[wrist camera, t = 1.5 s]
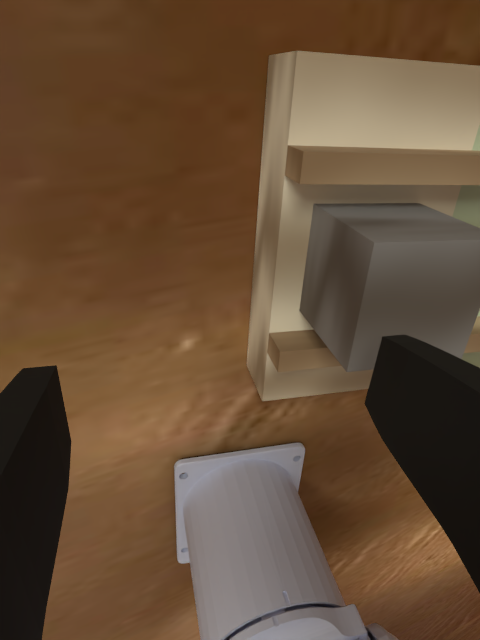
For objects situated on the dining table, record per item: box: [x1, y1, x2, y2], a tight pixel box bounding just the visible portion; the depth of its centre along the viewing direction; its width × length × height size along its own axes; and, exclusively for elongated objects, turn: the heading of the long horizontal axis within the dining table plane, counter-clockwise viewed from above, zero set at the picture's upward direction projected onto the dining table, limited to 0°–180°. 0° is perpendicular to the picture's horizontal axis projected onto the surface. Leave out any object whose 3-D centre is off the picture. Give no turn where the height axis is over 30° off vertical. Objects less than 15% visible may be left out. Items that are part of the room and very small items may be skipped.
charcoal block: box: [299, 203, 480, 372], centre depth 15 cm, size 4×4×4 cm
